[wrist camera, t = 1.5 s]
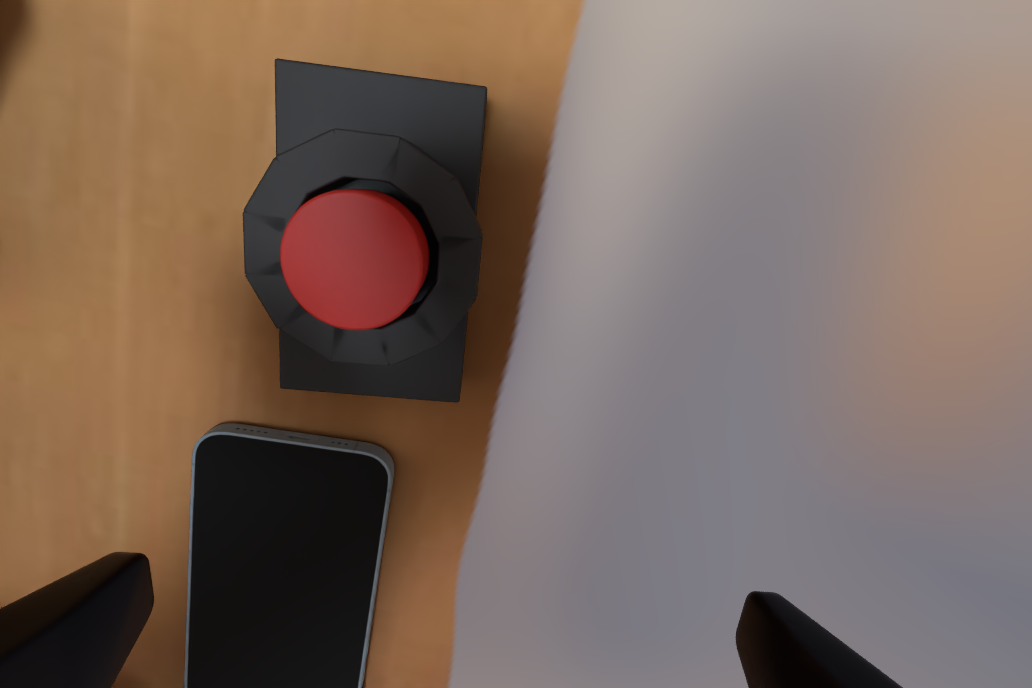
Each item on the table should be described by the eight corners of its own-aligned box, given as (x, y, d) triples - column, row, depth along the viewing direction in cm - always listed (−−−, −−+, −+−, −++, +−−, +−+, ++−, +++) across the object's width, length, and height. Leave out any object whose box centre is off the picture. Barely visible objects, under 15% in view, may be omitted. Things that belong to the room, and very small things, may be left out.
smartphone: (396, 456, 20) (352, 748, 24) (400, 445, 21) (357, 729, 25) (191, 426, 19) (181, 735, 23) (204, 416, 20) (192, 715, 24)
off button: (425, 320, 16) (418, 337, 14) (301, 309, 15) (279, 324, 14) (434, 196, 15) (427, 198, 13) (301, 181, 14) (277, 181, 13)
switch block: (468, 381, 20) (464, 427, 16) (294, 366, 20) (248, 410, 16) (494, 99, 17) (497, 75, 14) (292, 72, 17) (235, 39, 13)
